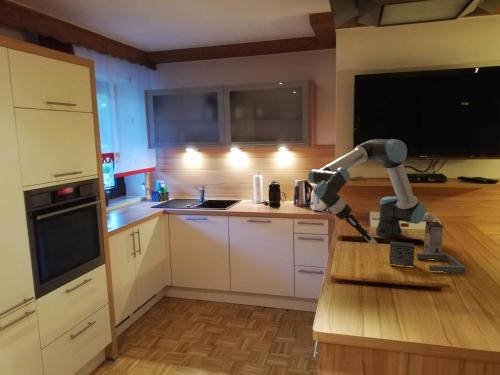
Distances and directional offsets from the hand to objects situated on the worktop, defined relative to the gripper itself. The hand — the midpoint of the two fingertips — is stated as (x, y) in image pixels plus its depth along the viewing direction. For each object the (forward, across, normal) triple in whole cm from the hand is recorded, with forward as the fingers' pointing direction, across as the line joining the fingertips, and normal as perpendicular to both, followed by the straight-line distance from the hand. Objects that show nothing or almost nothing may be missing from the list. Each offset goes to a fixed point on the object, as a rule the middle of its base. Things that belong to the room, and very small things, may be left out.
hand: (374, 243), depth 179 cm
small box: (+17, 0, +2) cm, 17 cm away
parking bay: (+29, 0, +15) cm, 32 cm away
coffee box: (+31, -18, +17) cm, 40 cm away
